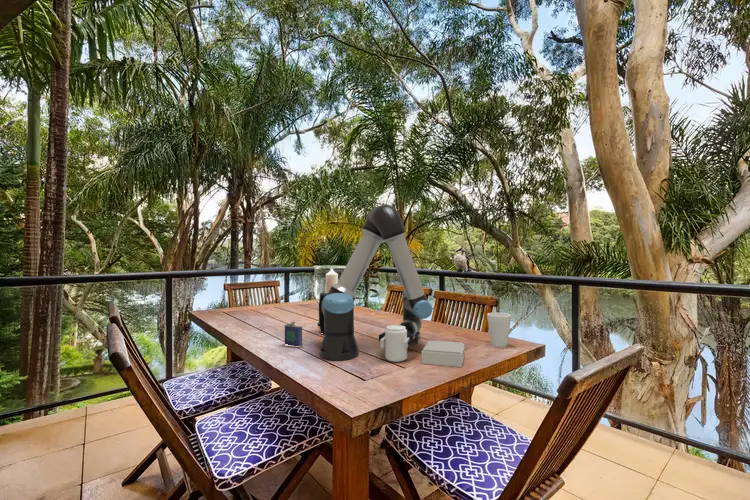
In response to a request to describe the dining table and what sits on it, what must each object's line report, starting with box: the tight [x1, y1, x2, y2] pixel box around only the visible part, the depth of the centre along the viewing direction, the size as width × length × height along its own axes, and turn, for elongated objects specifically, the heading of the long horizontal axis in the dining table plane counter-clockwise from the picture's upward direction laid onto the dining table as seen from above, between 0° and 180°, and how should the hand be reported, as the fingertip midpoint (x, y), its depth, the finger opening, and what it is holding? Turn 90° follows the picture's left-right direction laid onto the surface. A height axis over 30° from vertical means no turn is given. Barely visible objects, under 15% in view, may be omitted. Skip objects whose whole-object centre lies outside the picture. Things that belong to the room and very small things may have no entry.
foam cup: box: [486, 312, 512, 348], centre depth 156 cm, size 10×9×13 cm
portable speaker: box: [318, 292, 328, 335], centre depth 180 cm, size 9×9×20 cm
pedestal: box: [421, 340, 465, 368], centre depth 138 cm, size 14×14×5 cm
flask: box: [284, 321, 303, 347], centre depth 158 cm, size 9×3×11 cm, turn 61°
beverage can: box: [384, 324, 408, 363], centre depth 138 cm, size 8×8×12 cm
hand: (392, 344), depth 134 cm, fingers closed on beverage can, 8 cm apart
